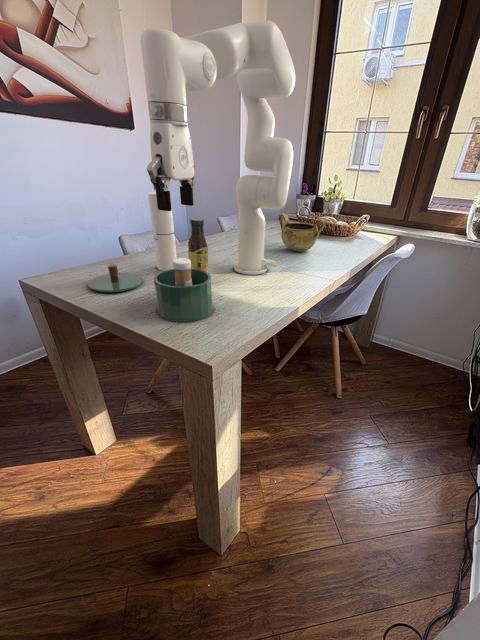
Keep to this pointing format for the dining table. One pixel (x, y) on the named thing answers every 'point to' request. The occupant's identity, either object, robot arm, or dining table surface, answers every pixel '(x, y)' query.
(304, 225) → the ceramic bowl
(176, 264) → the sprinkles bottle
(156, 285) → the canister
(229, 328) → the dining table surface
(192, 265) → the sauce bottle
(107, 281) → the lid
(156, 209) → the cylindrical container
